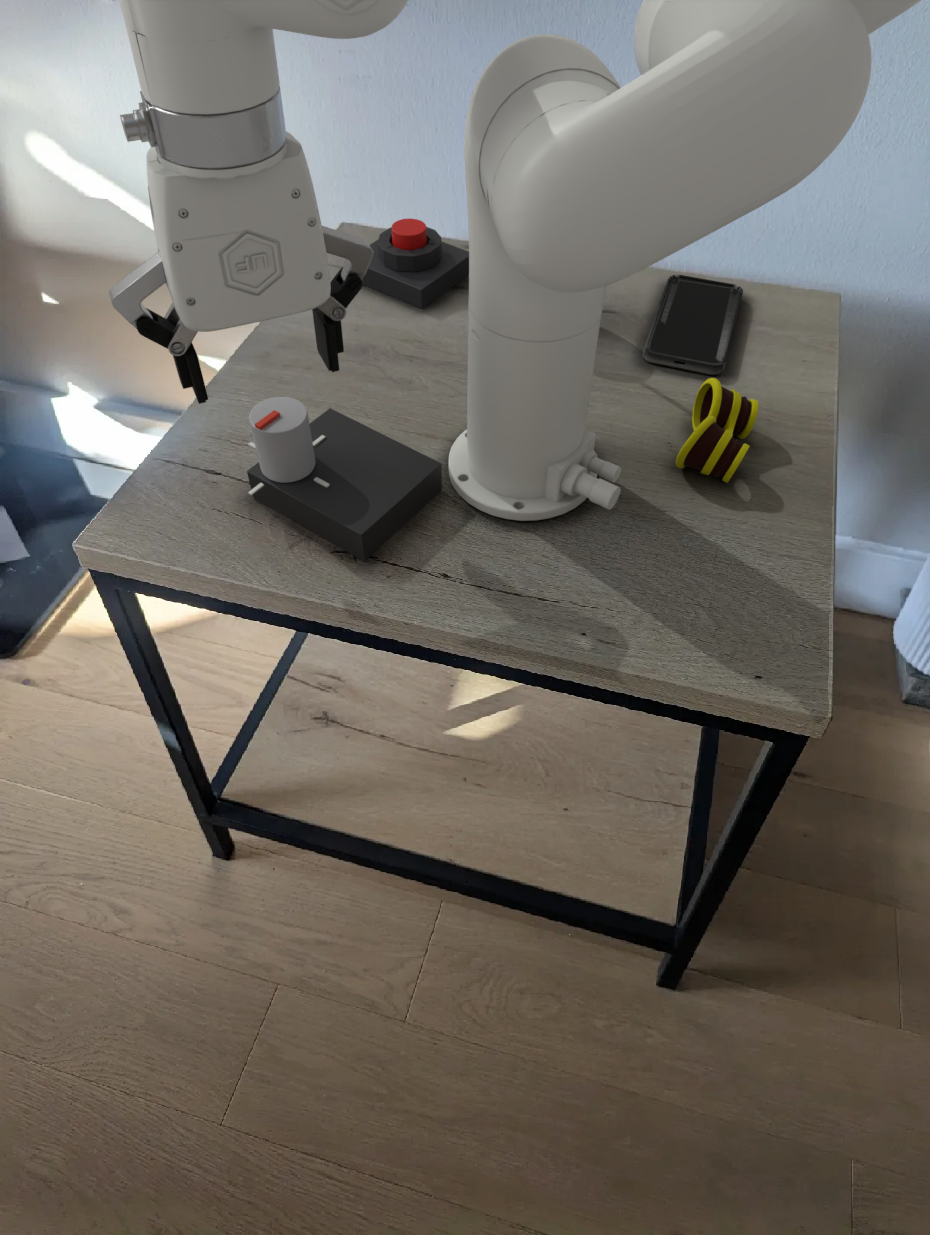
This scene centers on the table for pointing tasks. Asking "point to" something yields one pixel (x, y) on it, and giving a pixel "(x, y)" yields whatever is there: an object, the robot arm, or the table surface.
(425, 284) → the grey button base
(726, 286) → the phone
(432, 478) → the panel
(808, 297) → the table surface
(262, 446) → the knob
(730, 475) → the opera glasses
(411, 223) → the power button
